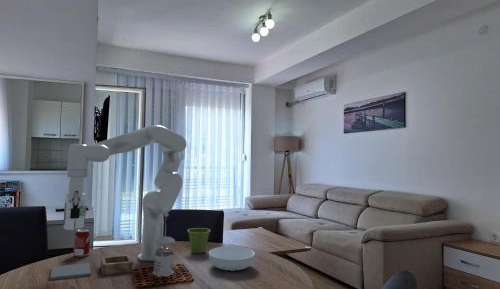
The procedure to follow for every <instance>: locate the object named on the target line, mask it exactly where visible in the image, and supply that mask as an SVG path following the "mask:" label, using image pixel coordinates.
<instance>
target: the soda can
mask: <svg viewBox="0 0 500 289" xmlns="http://www.w3.org/2000/svg"><path fill="white" fill-rule="evenodd" d="M91 234H92V233H91V231H90V229H89V228H88V229H87V228H82V229H77V230H76V232H75V234H74V239H73V240H74V241H73V242H74V243H73V244H74V245H73V256H75V257H76V258H84V257H88V255H90V248H91Z"/></svg>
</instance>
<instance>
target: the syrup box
mask: <svg viewBox="0 0 500 289" xmlns="http://www.w3.org/2000/svg"><path fill="white" fill-rule="evenodd" d="M64 196H65V198H64V210H63V211H64V213H63V224H62V225H63V226H62V229H63V230H66V231H77V230H79V229H86V214H87V212H86V211H87V200H88V199H87V197H88V194H87V193H85V192H83V195H82V200H81V202H80V203H79V208H80V213H79V218H75V219H71V218H70V213H71V208H72V201H70V202H68V193H65V195H64ZM74 196H75V192H74ZM73 201H74V200H73Z"/></svg>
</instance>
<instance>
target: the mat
mask: <svg viewBox="0 0 500 289" xmlns="http://www.w3.org/2000/svg"><path fill="white" fill-rule="evenodd" d="M90 264H91V263H90V262H87V263H85V262H84V263H77V264H65V265H55V266H52V267H51V271H50V276H49V281H55V280H56V281H57V280H64V279H72V278H74V279H75V278H80V277H81V278H82V277H90V276H91V275H92V272H91V265H90Z"/></svg>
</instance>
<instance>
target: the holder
mask: <svg viewBox="0 0 500 289" xmlns="http://www.w3.org/2000/svg"><path fill="white" fill-rule="evenodd" d="M133 265H134V263H133V260H132V257H131V256H130V254H123V255H111V256H102V257H101V258H100V271H101V274H102V275H107V276H108V275H114V274H115V275H116V274H122V273H124V274H125V273H131V272H133Z"/></svg>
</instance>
